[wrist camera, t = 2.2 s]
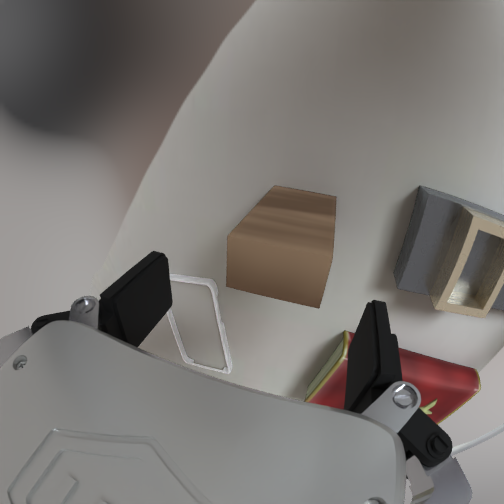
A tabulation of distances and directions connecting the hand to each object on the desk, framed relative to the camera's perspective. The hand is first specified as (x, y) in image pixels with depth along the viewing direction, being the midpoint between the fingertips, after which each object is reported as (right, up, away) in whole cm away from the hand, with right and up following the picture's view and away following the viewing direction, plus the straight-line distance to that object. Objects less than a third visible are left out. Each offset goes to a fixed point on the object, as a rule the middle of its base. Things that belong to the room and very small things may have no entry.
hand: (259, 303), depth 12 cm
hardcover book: (+18, -14, +16) cm, 28 cm away
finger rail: (+26, +1, +4) cm, 26 cm away
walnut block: (+4, +6, +10) cm, 12 cm away
